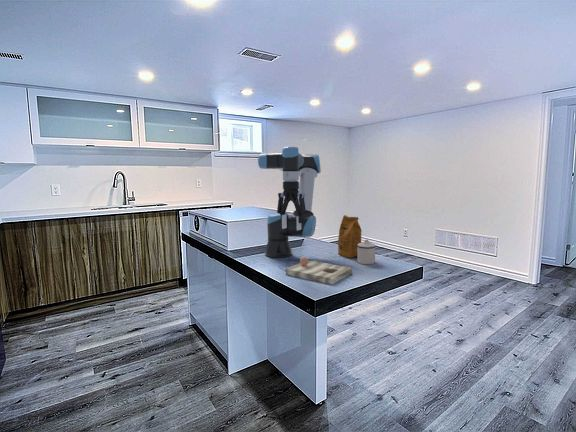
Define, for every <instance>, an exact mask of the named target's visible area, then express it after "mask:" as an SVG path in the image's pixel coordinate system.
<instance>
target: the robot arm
mask: <svg viewBox="0 0 576 432" xmlns="http://www.w3.org/2000/svg"><path fill="white" fill-rule="evenodd" d="M281 151H282V152H277V153H276V152H275V153H273V152H270V153H261V154H259V155H258V158H257V163H258V168H259V169H261V170H262V169H263V170H264V169H265V170H279V171H280V172H282V181H283V182H282V190H283V191H282V192H278V193H277V196H278V198H277V199H278V201H277V209H276V210H277V211H276V213H273V214H269V215H268V217H267V223H266V224H267V225H266V226H267V244H266V247H265V249H264V255H265V256H266V255H267V256H266V257H268V256H269V258H287V257H289V256H292V255H293V249H292V248H291V245H290V241H289V237H293V238H295V237H297V238H298V237H299V238H310V237H313V235H314V234H315V231H316V227H317V218H316V216H315V215H314V212H313V211H312V208H313V198H314V188H315V179H316V178H317V177H318V175H319V174H320V173H321V172H322V171H321V170H322V169H321V168H322V167H321V162H320V160H321V159H320V156H319V154H317V153H309V154H308V153H305V154H303V153H300V152H299V147H297V146H284V147H282V149H281ZM290 202H292V203H293V205H294V208H295V210H294V211H292V212H293V213H292V215H289V213H288V212H287V209H288V206H289V203H290ZM291 254H292V255H291Z"/></svg>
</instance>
